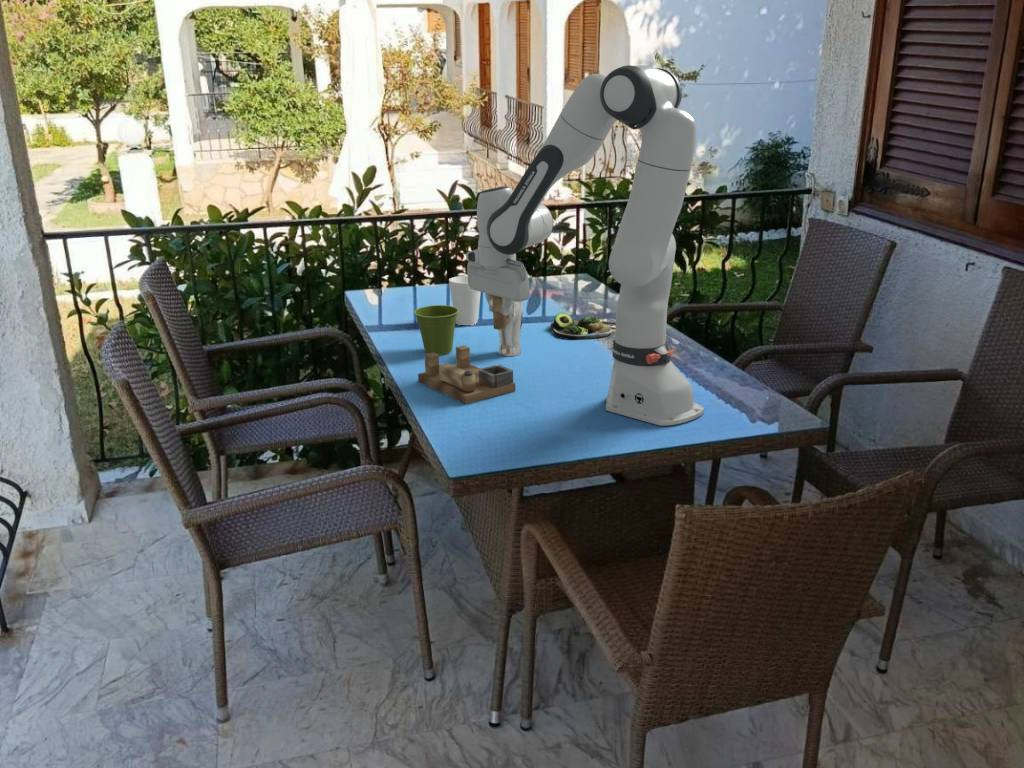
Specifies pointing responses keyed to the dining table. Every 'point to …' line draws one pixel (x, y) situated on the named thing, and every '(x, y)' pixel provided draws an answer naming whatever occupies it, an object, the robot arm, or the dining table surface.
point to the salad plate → (579, 327)
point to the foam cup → (464, 300)
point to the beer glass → (511, 331)
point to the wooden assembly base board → (486, 379)
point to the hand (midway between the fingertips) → (499, 313)
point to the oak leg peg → (498, 313)
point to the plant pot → (437, 327)
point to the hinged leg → (457, 377)
